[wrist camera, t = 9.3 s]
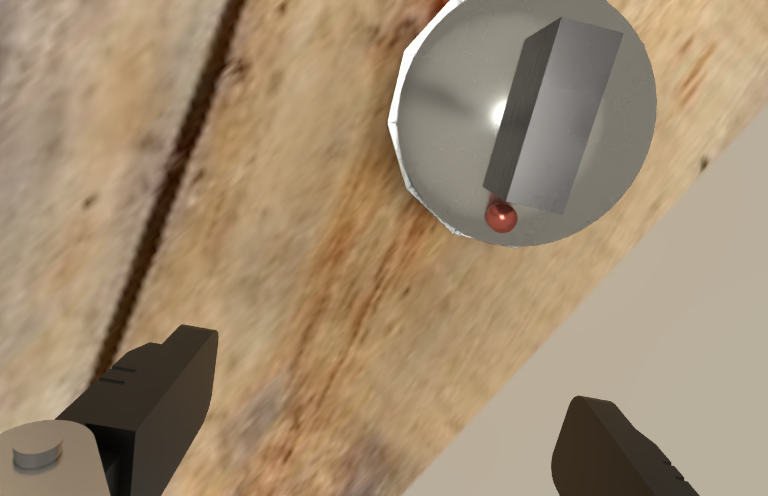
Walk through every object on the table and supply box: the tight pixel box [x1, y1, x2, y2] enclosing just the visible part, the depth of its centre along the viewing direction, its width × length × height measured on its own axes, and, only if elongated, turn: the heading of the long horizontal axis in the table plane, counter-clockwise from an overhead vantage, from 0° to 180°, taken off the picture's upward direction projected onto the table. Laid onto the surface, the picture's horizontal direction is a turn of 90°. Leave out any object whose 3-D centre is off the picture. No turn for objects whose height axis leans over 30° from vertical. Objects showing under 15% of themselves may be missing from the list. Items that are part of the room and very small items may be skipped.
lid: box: [397, 0, 657, 247], centre depth 22 cm, size 12×12×6 cm
